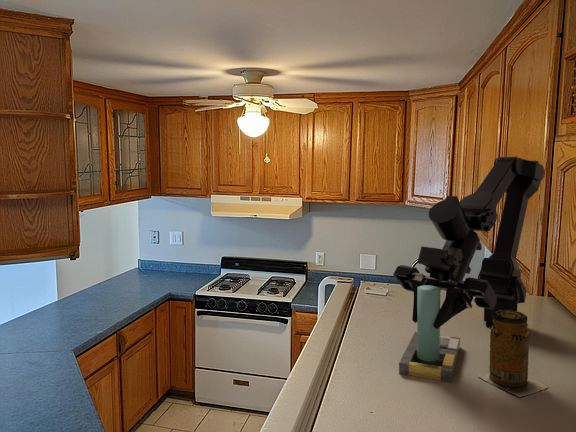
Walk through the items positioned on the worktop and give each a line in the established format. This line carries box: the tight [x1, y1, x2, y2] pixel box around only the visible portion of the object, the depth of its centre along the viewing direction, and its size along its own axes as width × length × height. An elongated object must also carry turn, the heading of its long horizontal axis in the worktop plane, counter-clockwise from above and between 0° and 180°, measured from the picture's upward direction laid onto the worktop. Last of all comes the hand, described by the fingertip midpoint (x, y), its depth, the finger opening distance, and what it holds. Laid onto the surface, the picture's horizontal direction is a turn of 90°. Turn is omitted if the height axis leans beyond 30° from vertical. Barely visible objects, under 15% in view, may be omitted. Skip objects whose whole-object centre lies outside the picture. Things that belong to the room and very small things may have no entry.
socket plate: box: [398, 331, 461, 383], centre depth 89 cm, size 9×16×2 cm, turn 154°
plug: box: [416, 285, 442, 362], centre depth 84 cm, size 4×4×13 cm
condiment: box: [477, 310, 549, 398], centre depth 78 cm, size 7×8×12 cm
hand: (424, 324), depth 83 cm, fingers closed on plug, 4 cm apart
